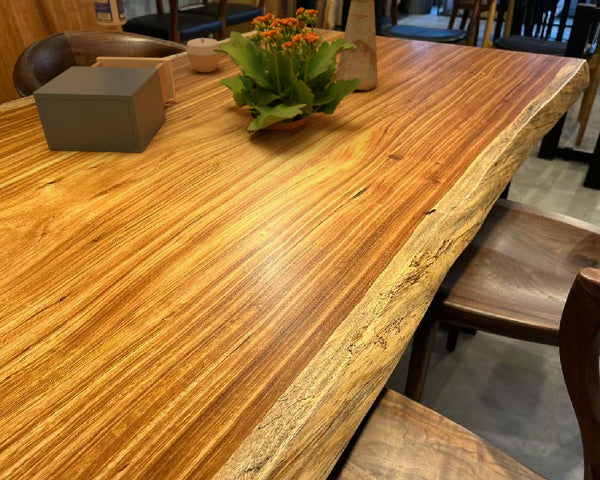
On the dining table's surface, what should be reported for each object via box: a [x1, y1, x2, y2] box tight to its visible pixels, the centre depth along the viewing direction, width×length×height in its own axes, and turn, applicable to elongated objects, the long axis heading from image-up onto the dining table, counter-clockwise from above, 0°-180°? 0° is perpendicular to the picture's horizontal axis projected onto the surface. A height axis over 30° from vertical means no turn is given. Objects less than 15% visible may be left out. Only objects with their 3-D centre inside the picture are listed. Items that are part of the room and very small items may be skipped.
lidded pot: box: [185, 37, 222, 74], centre depth 117 cm, size 8×8×7 cm
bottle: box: [335, 0, 379, 91], centre depth 102 cm, size 9×9×28 cm
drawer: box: [90, 56, 177, 105], centre depth 96 cm, size 18×13×7 cm
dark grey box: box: [32, 65, 167, 154], centre depth 85 cm, size 15×15×9 cm
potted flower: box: [213, 7, 362, 135], centre depth 89 cm, size 25×24×18 cm
